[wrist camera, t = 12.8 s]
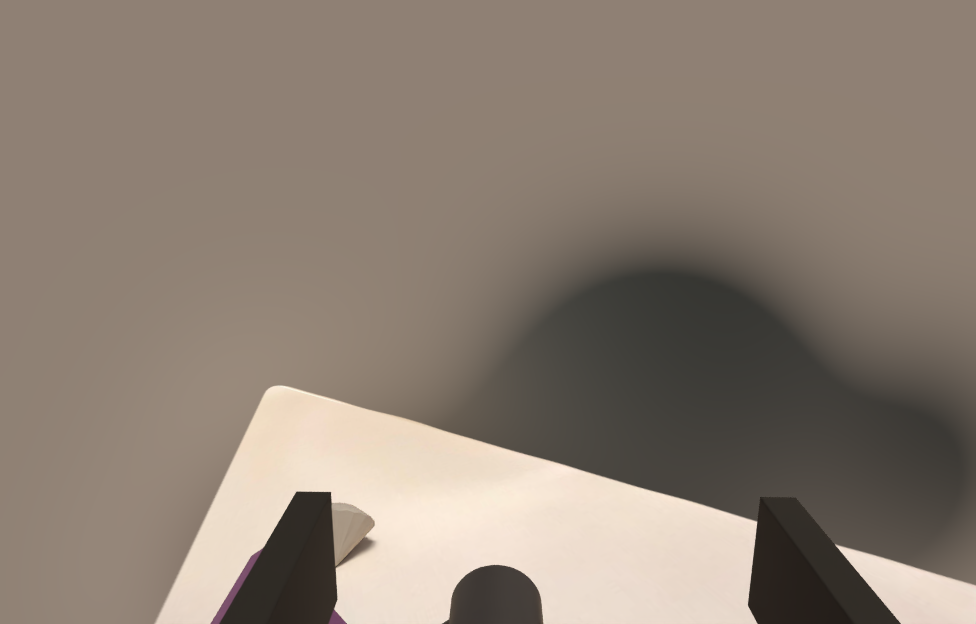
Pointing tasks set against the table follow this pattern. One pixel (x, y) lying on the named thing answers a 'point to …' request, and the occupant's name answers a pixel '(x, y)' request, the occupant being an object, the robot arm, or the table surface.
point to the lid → (464, 597)
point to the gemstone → (348, 528)
